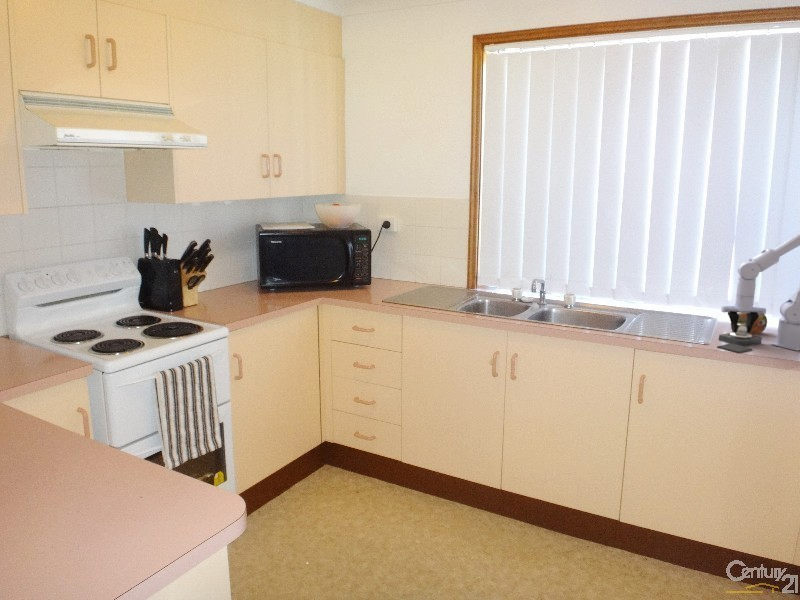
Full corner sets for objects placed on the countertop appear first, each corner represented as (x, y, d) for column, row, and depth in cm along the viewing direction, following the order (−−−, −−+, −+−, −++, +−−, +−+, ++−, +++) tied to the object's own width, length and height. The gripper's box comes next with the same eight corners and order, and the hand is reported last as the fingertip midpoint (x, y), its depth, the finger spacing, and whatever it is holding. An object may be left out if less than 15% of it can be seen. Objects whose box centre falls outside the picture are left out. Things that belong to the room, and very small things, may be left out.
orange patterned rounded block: (734, 335, 246) (736, 314, 244) (727, 333, 249) (730, 312, 247) (766, 333, 250) (769, 312, 248) (760, 331, 253) (762, 310, 251)
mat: (752, 350, 226) (752, 348, 226) (738, 353, 222) (738, 351, 222) (730, 344, 232) (730, 343, 232) (717, 347, 228) (717, 346, 228)
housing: (761, 343, 235) (761, 337, 235) (744, 346, 230) (745, 341, 230) (734, 336, 244) (735, 331, 243) (718, 340, 239) (719, 334, 238)
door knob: (754, 341, 236) (756, 324, 235) (746, 344, 232) (748, 327, 231) (733, 337, 242) (735, 321, 241) (725, 340, 237) (727, 324, 236)
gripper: (762, 294, 236) (757, 330, 239) (720, 292, 238) (716, 328, 241) (770, 297, 229) (765, 335, 232) (726, 296, 231) (722, 333, 234)
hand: (740, 332), depth 236 cm, fingers closed on door knob, 4 cm apart
